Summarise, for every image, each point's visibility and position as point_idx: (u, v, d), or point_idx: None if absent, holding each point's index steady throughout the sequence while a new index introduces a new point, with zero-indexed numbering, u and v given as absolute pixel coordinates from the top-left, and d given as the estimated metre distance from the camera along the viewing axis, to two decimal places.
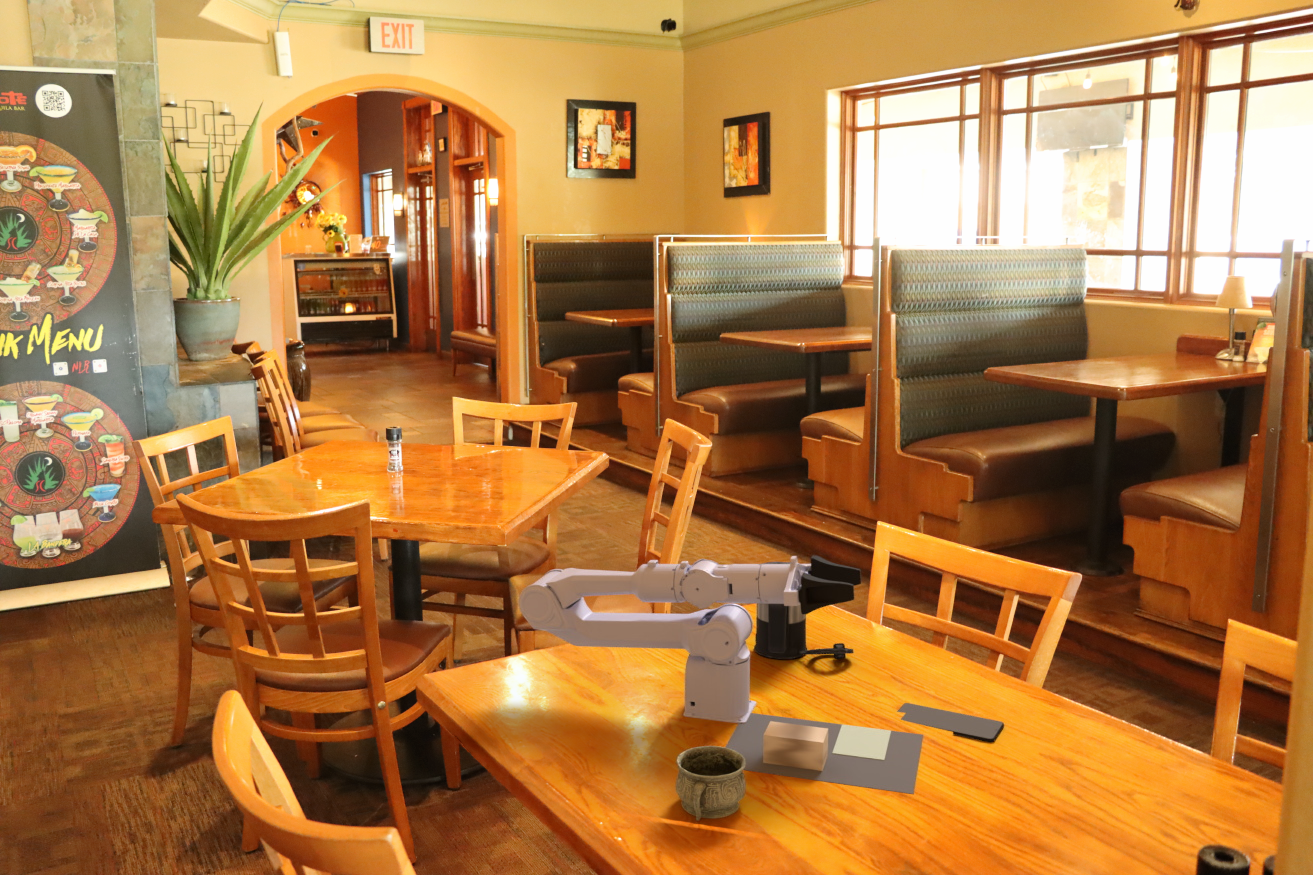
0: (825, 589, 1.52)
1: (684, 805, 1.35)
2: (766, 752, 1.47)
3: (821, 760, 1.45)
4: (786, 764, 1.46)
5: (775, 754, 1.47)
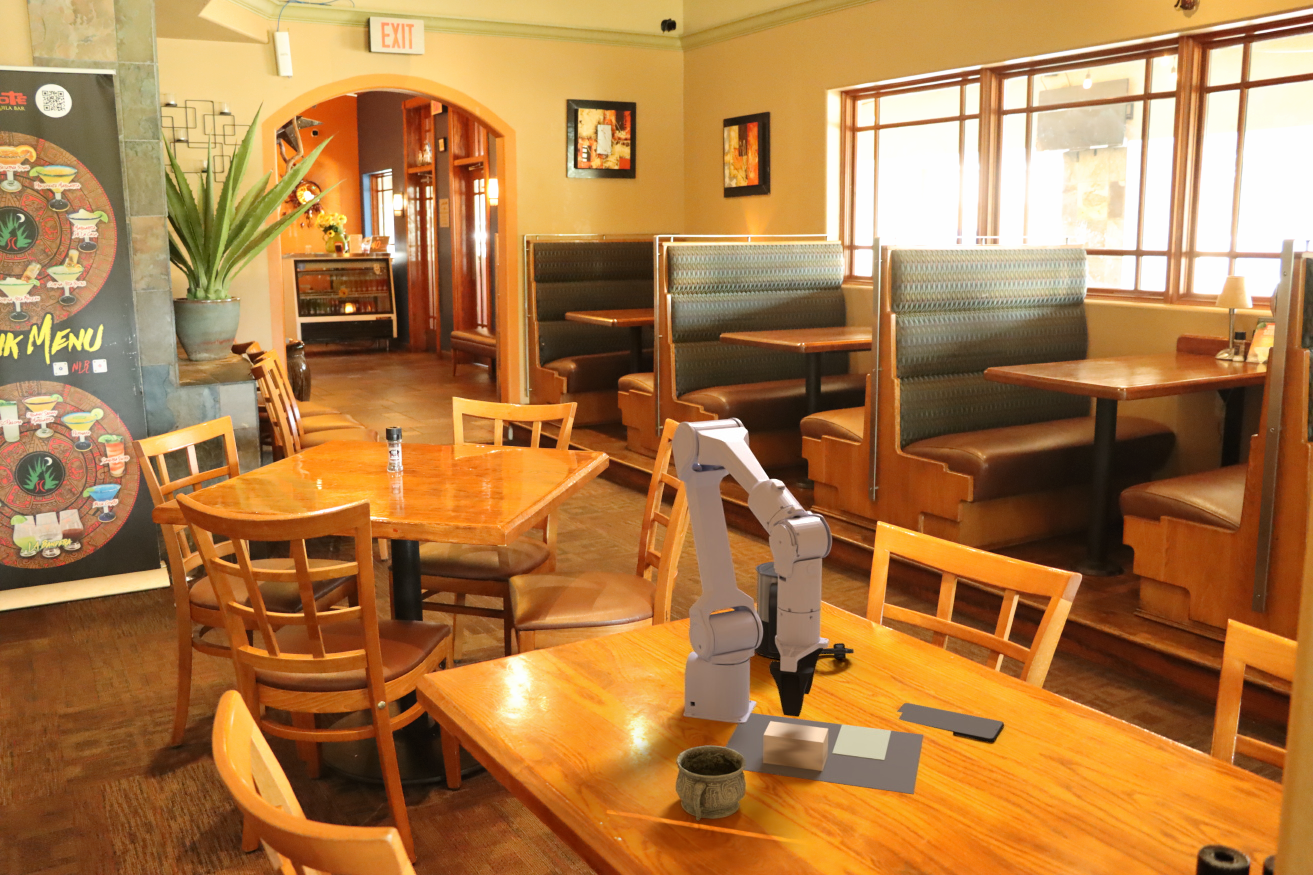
0: (794, 688, 1.42)
1: (684, 805, 1.35)
2: (766, 752, 1.47)
3: (821, 760, 1.45)
4: (786, 764, 1.46)
5: (775, 754, 1.47)
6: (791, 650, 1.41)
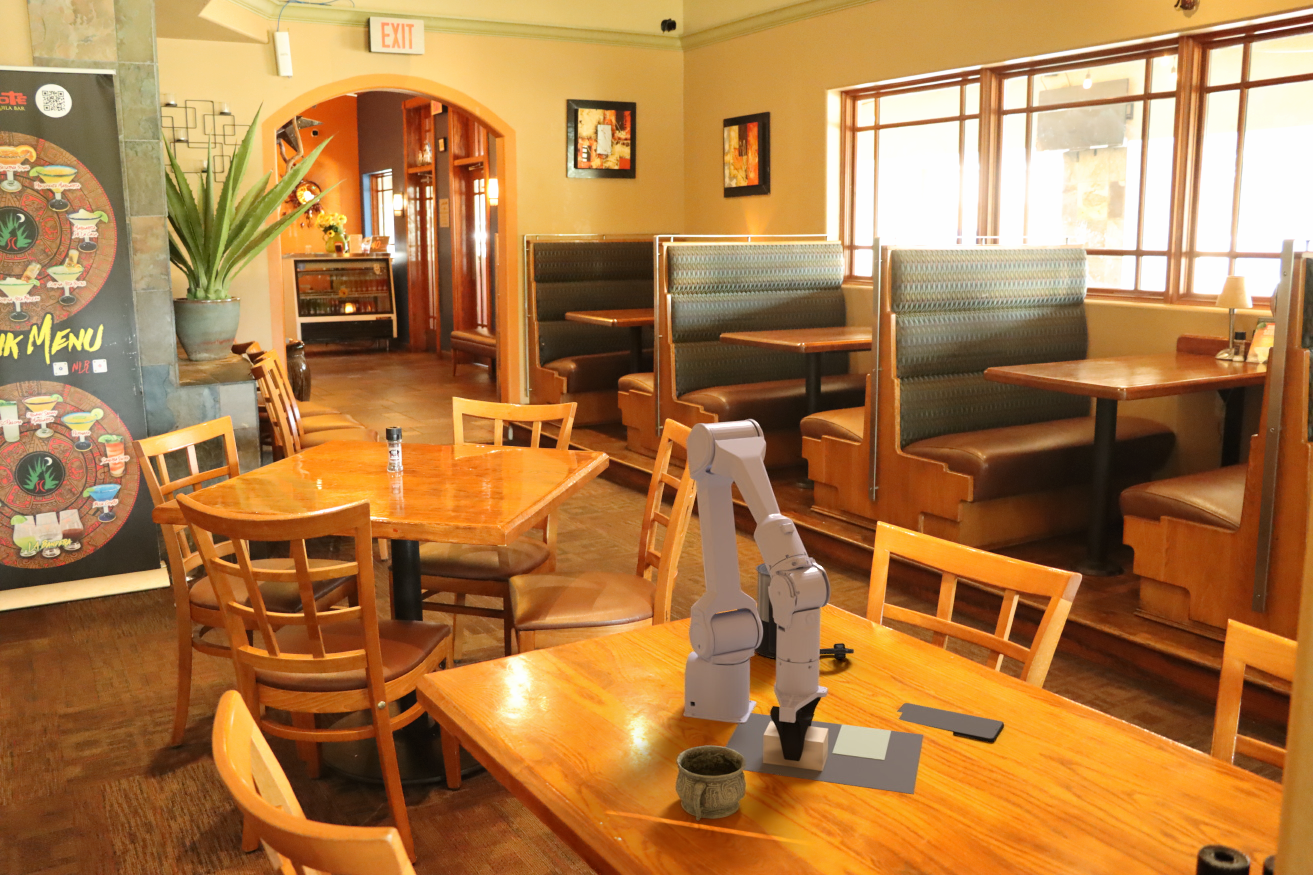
0: (795, 733, 1.44)
1: (684, 805, 1.35)
2: (766, 752, 1.47)
3: (821, 760, 1.45)
4: (786, 764, 1.46)
5: (775, 754, 1.47)
6: (790, 700, 1.42)
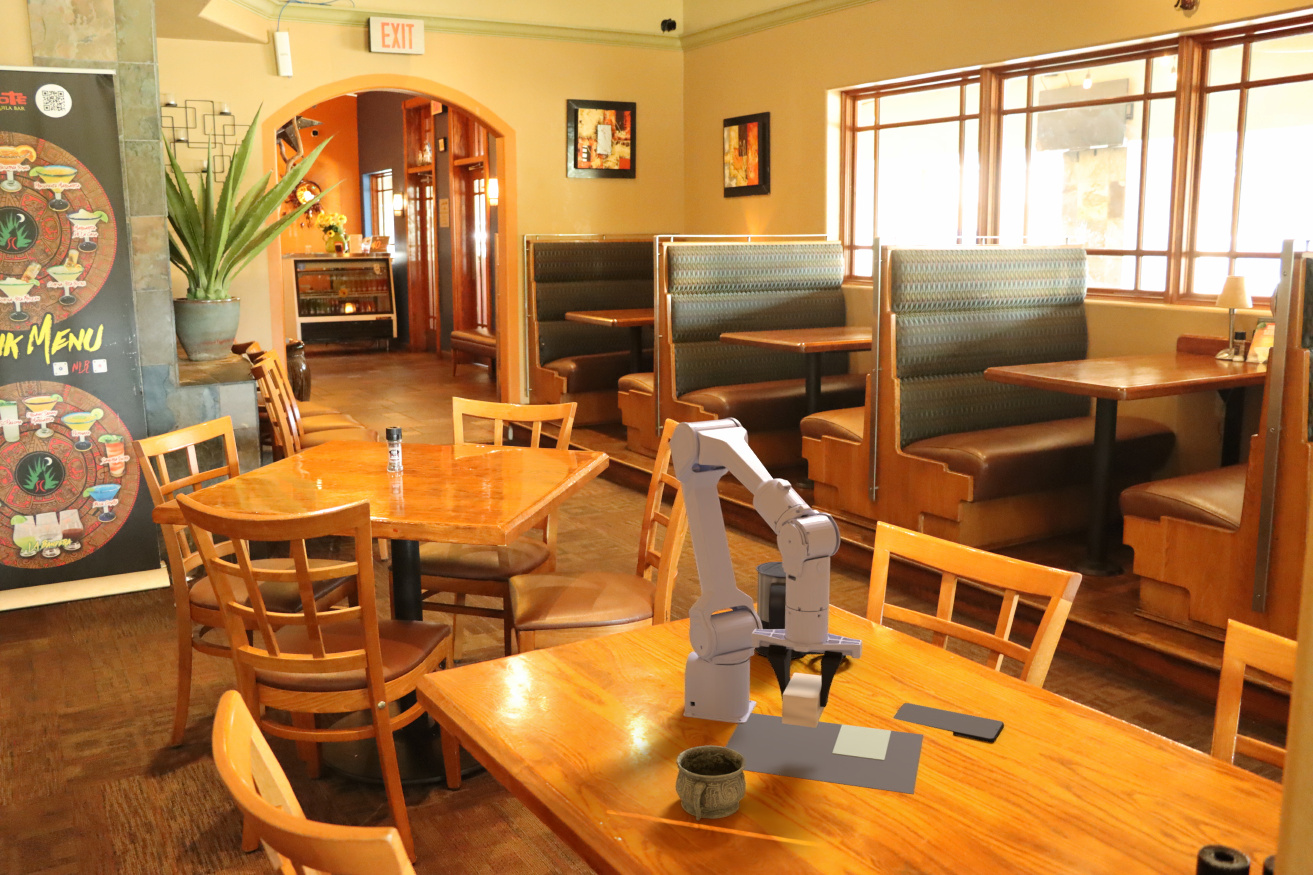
0: None
1: (684, 805, 1.35)
2: None
3: (782, 712, 1.45)
4: None
5: None
6: (771, 632, 1.47)
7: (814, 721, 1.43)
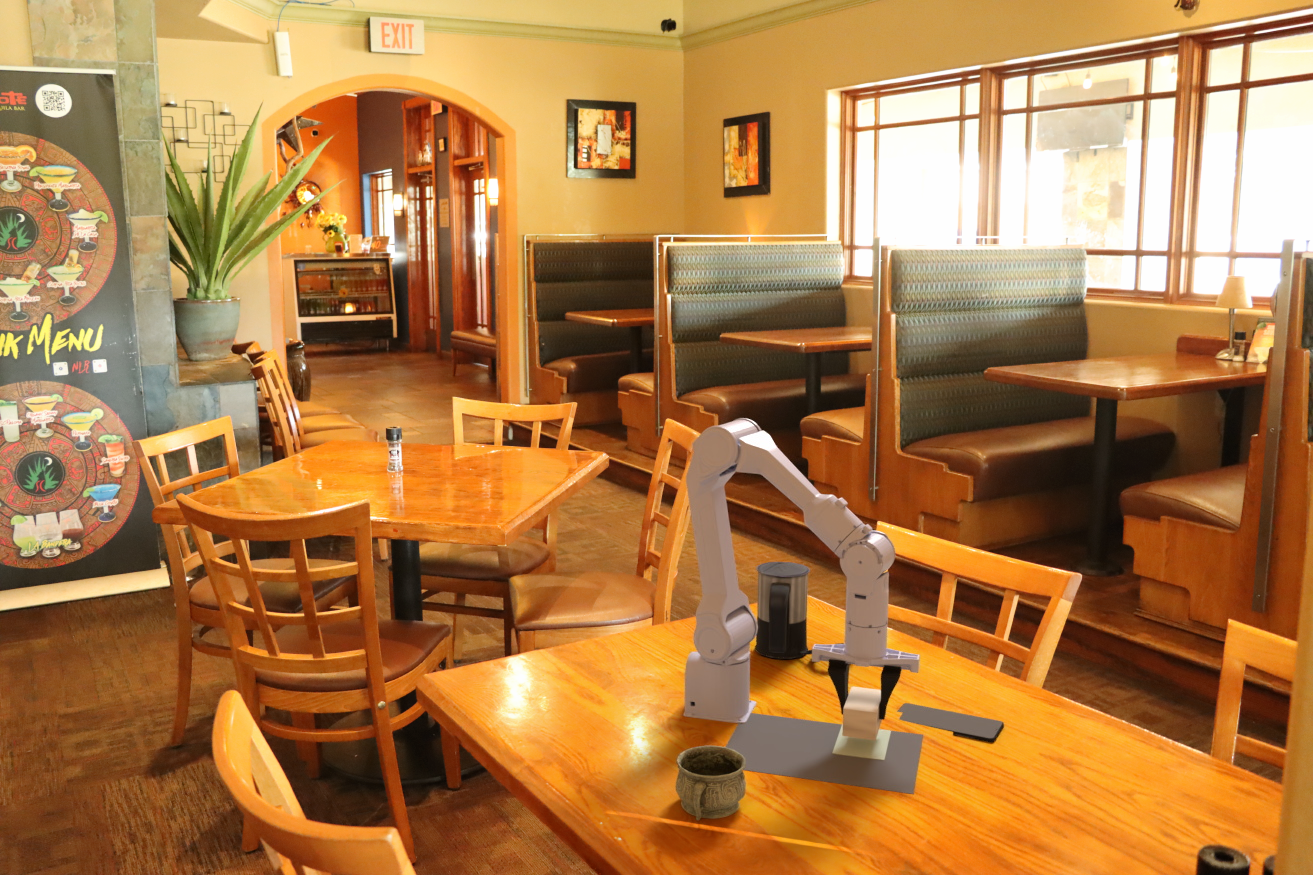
0: None
1: (684, 805, 1.35)
2: None
3: None
4: None
5: None
6: (830, 647, 1.53)
7: (874, 734, 1.48)
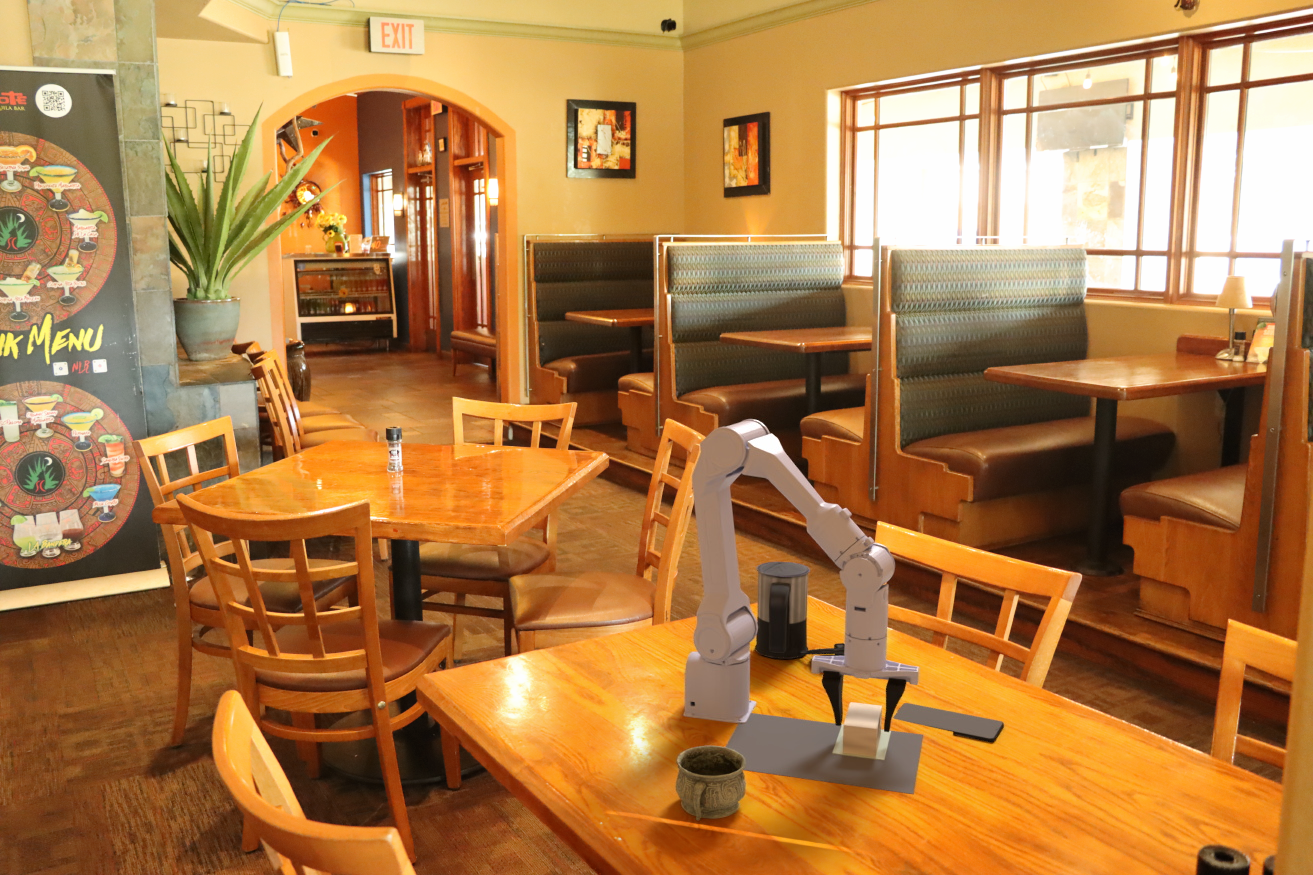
0: None
1: (684, 805, 1.35)
2: None
3: (843, 742, 1.50)
4: None
5: None
6: (830, 659, 1.53)
7: (874, 750, 1.49)
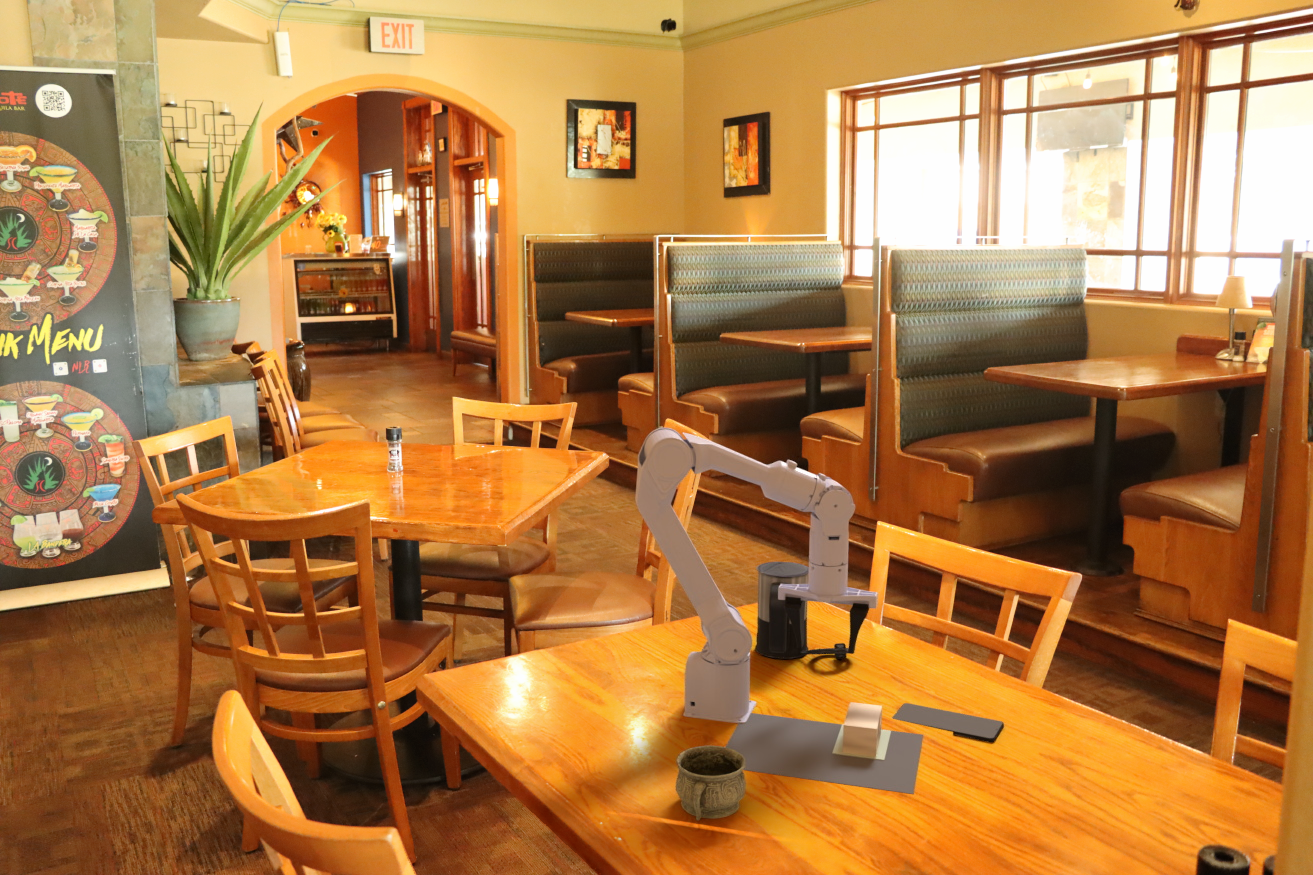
0: None
1: (684, 805, 1.35)
2: None
3: (843, 742, 1.50)
4: None
5: None
6: (795, 586, 1.64)
7: (874, 750, 1.49)
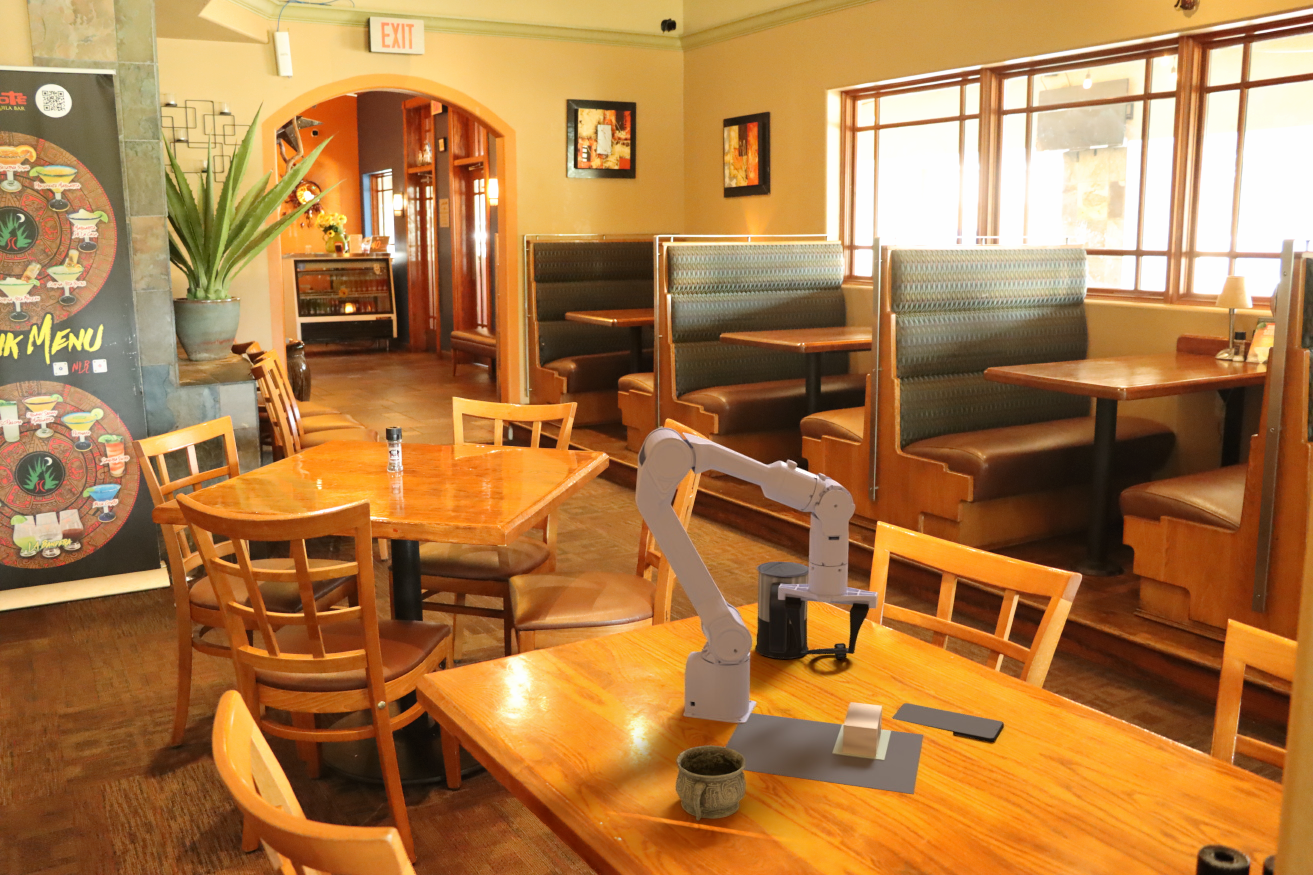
0: None
1: (684, 805, 1.35)
2: None
3: (843, 742, 1.50)
4: None
5: None
6: (795, 586, 1.64)
7: (874, 750, 1.49)
